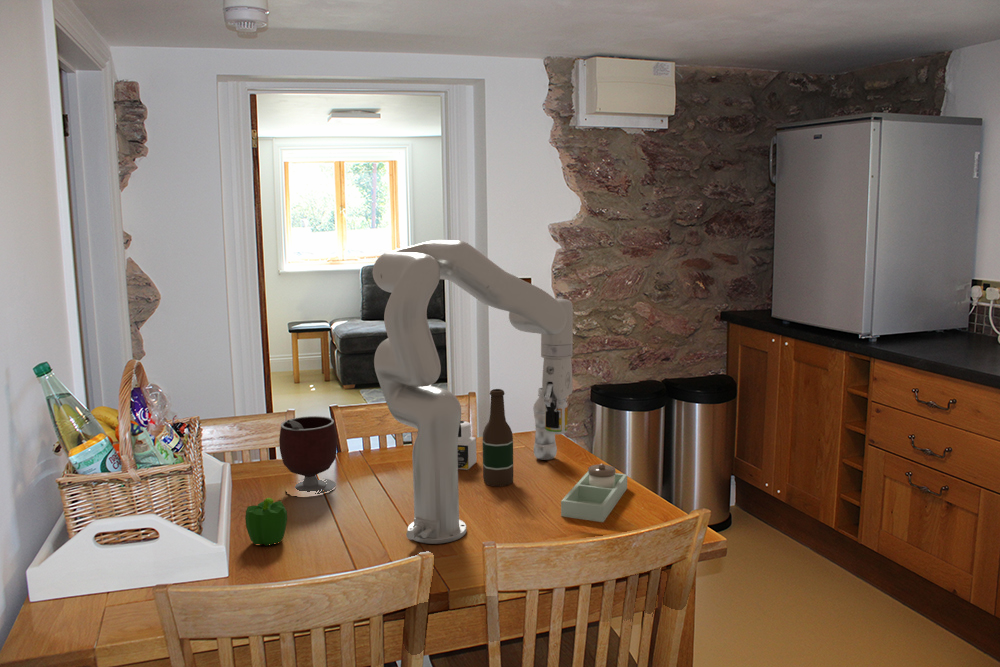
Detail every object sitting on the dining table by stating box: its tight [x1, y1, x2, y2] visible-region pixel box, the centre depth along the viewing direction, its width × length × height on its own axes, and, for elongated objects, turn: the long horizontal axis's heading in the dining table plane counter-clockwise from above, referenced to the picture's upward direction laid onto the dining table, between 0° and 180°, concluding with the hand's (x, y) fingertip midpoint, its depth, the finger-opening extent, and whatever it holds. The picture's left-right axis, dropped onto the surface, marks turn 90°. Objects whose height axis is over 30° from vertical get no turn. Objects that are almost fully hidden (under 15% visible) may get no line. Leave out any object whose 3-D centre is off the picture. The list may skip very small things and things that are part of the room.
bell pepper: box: [244, 497, 288, 546], centre depth 157 cm, size 8×8×10 cm
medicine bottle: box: [458, 420, 478, 471], centre depth 206 cm, size 7×7×12 cm
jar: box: [587, 463, 616, 489], centre depth 180 cm, size 6×6×7 cm
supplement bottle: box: [545, 396, 569, 435], centre depth 182 cm, size 5×5×10 cm
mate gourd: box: [278, 415, 338, 494], centre depth 187 cm, size 16×14×20 cm
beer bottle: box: [482, 388, 514, 488], centre depth 191 cm, size 8×8×24 cm
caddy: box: [560, 471, 628, 523], centre depth 175 cm, size 22×10×4 cm, turn 157°
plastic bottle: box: [532, 387, 558, 461], centre depth 209 cm, size 6×7×20 cm
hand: (556, 423), depth 183 cm, fingers closed on supplement bottle, 5 cm apart
